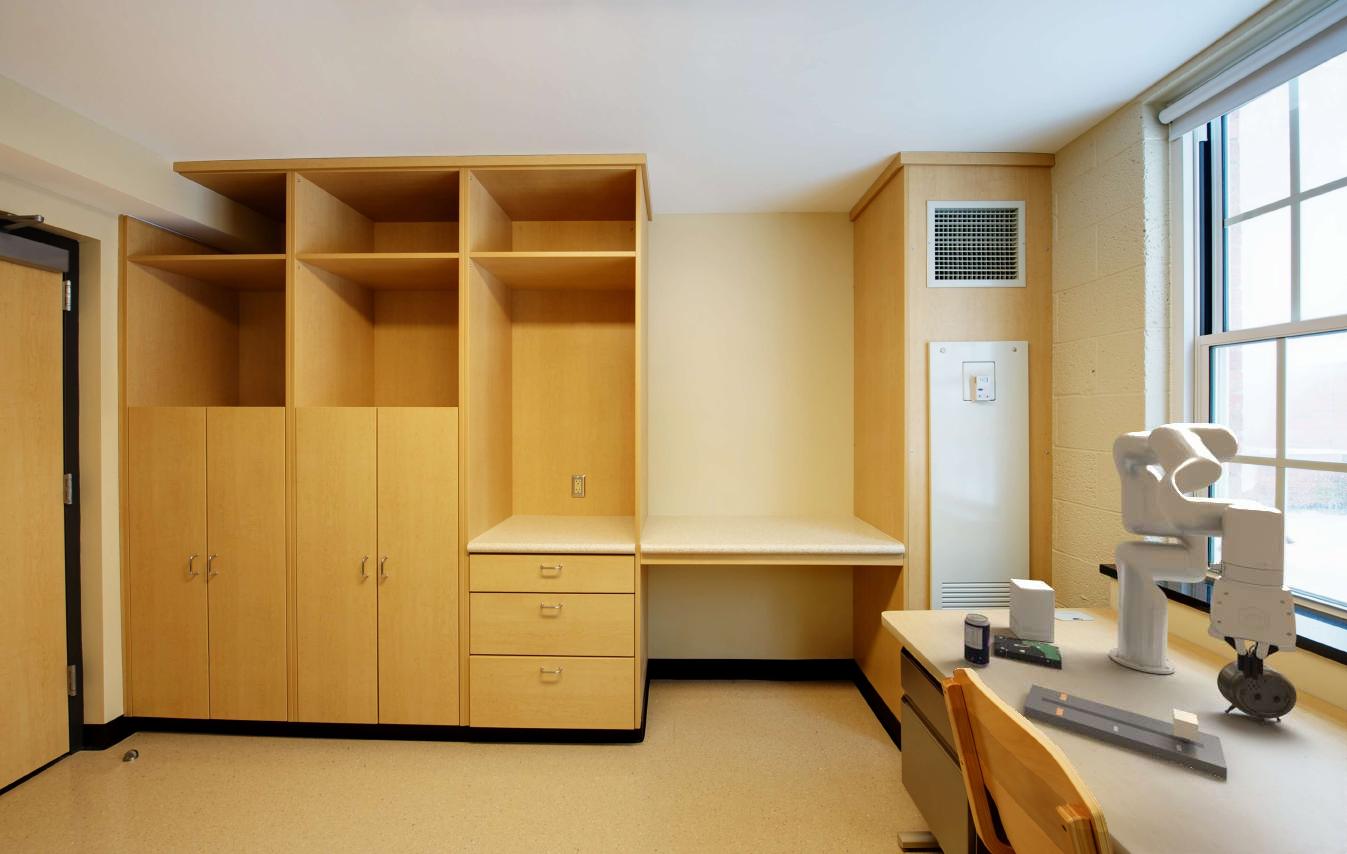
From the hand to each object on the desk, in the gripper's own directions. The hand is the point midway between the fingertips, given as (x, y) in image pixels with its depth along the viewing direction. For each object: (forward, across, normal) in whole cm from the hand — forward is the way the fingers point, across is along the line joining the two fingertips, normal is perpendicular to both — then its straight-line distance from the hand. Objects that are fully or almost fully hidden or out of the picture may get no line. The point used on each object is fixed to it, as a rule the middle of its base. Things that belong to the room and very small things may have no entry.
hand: (1249, 676), depth 94 cm
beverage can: (+17, -46, +14) cm, 51 cm away
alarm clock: (+17, +4, +25) cm, 30 cm away
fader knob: (+15, -8, +1) cm, 17 cm away
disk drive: (+18, -37, +28) cm, 50 cm away
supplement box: (+17, -38, +44) cm, 61 cm away
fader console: (+17, -18, 0) cm, 25 cm away
